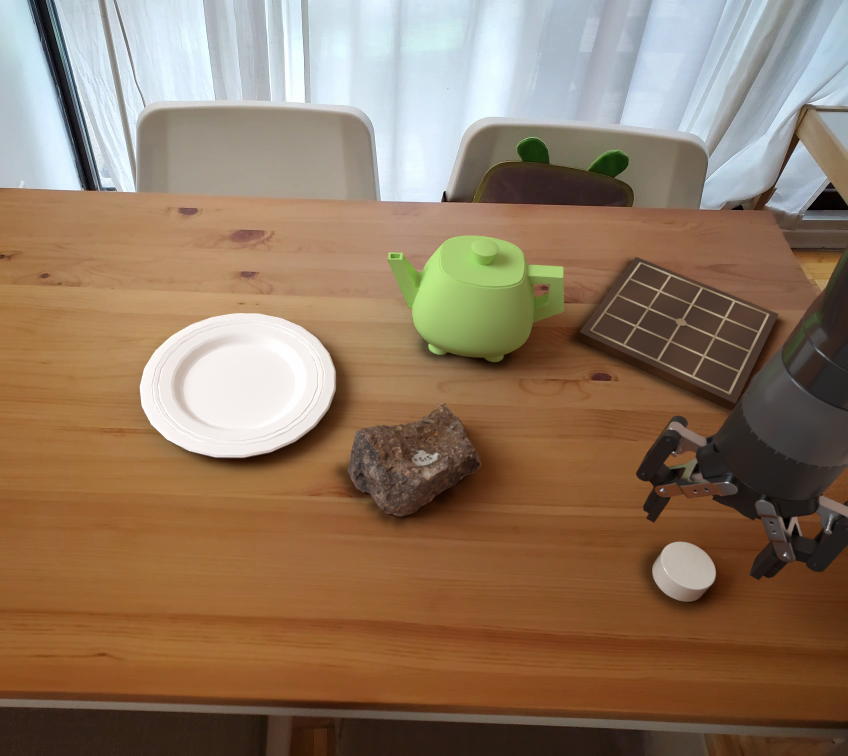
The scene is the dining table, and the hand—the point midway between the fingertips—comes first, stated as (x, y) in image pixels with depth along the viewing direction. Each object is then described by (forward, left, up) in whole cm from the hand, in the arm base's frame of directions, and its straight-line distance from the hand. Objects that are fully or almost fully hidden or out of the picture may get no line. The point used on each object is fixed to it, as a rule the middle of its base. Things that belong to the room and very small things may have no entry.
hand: (703, 541), depth 59 cm
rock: (+25, +4, -7) cm, 26 cm away
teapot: (+31, -16, -7) cm, 35 cm away
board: (+11, -32, -7) cm, 35 cm away
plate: (+46, +7, -7) cm, 47 cm away
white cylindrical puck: (0, 0, -7) cm, 7 cm away
